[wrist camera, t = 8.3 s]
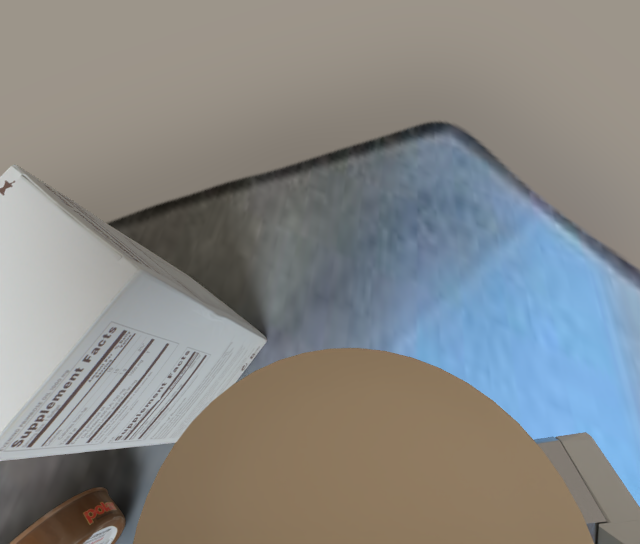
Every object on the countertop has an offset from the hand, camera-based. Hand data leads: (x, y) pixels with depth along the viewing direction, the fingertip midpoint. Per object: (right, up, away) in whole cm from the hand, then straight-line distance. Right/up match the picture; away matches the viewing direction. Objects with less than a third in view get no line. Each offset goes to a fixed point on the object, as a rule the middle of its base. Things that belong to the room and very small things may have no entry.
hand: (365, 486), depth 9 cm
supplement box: (-11, -2, +25) cm, 28 cm away
